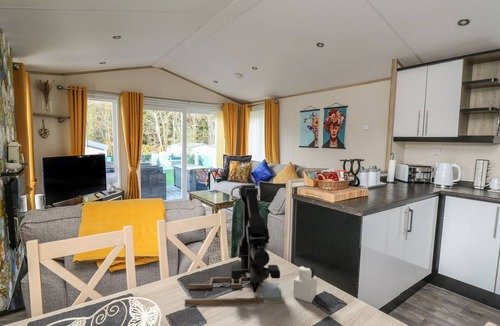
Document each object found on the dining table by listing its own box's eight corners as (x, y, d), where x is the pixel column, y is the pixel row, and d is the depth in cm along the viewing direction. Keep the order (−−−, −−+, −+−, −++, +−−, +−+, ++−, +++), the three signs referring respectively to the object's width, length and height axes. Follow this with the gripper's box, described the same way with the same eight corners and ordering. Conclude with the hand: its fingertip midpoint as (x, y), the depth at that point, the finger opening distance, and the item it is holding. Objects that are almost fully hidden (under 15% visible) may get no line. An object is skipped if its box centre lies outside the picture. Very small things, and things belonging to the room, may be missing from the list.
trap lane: (191, 281, 110) (191, 277, 110) (277, 280, 113) (277, 276, 113) (184, 304, 95) (184, 300, 95) (284, 302, 97) (284, 298, 97)
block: (262, 292, 104) (262, 282, 103) (277, 292, 104) (277, 283, 104) (263, 301, 98) (263, 291, 98) (279, 302, 98) (279, 292, 98)
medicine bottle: (299, 288, 107) (300, 260, 106) (316, 294, 103) (318, 265, 102) (293, 297, 101) (294, 267, 100) (311, 303, 97) (312, 273, 96)
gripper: (231, 264, 92) (230, 306, 93) (283, 263, 93) (282, 304, 94) (231, 250, 103) (230, 288, 104) (278, 250, 104) (276, 287, 106)
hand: (254, 292), depth 102 cm, fingers closed
